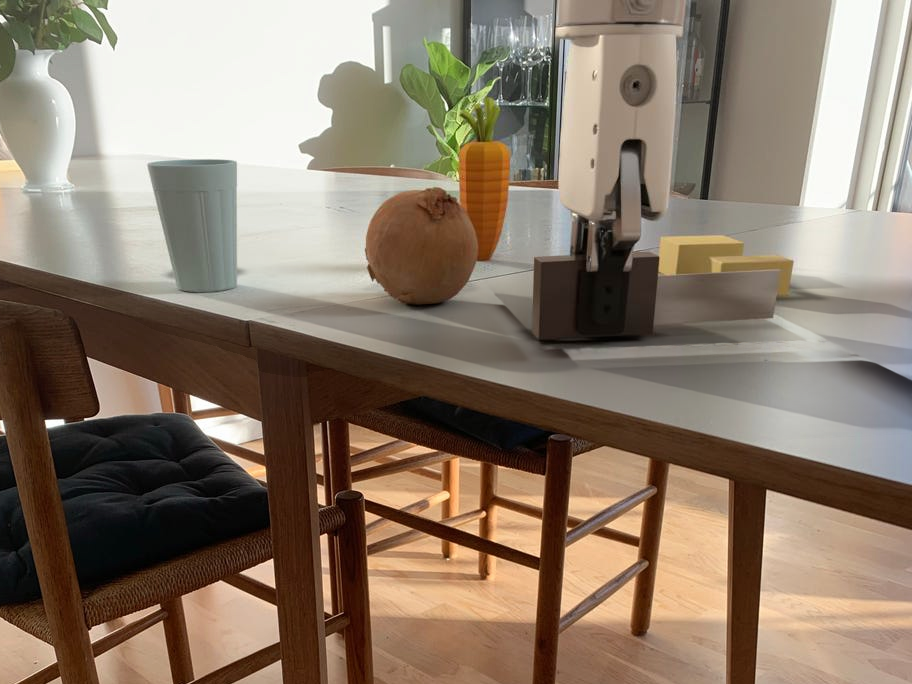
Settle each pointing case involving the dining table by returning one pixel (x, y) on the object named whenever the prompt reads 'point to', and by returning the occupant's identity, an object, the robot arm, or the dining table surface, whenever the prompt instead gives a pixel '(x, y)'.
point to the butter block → (694, 252)
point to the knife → (650, 296)
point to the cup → (198, 220)
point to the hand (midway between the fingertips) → (594, 326)
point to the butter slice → (754, 267)
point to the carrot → (484, 179)
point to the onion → (421, 246)
